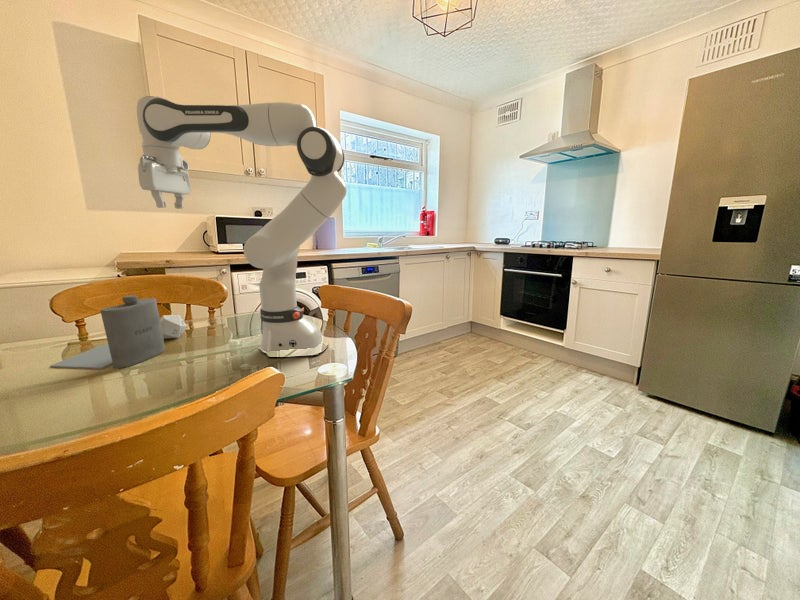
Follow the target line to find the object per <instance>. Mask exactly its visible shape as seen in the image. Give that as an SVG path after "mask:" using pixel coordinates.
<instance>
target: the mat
mask: <svg viewBox="0 0 800 600" xmlns="http://www.w3.org/2000/svg"><path fill="white" fill-rule="evenodd" d="M110 366H113V362H112V358H111V354H110V349H109V345H108V344H100V345H98V346H96V347H93V348H91V349H88V350H86V351H83V352H80V353H79V354H76V355H73V356H71V357H68V358H67V359H64V360H62V361H58V362H57V363H54V364H53V363H52V364H51V365H49V367H50V368H58V369H59V368H61V369H84V370H85V369H87V370H89V369H90V370H104V369H106V368H108V367H110Z"/></svg>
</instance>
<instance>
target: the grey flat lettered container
mask: <svg viewBox="0 0 800 600" xmlns="http://www.w3.org/2000/svg"><path fill="white" fill-rule="evenodd" d="M121 300H122V303H124V304H119V305H114V306H108V307H104V308H103V309H101V310H100V315H101V319H102V323H103V328H104V333H105V337H106V341H107V345H109V349H110V354H111V358H112V362H113V364H112V366H113V368H115V369H125V368H128V367H132V366H135V365H138V364H140V363H143V362H145V361H147V360H150V359H153V358H154V357H157V356H159V355H160V354H162V353H164V352H165V350H166V346H165V345H166V343H165V339H163V334H162V328H161V323H160V318H161V317H160V313H159V309H158V304H157V299H156V298H151V297H150V298H141V299H139V297H138V296H137V295H135V294H131V295H124V296H123V297H122V299H121Z"/></svg>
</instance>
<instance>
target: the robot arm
mask: <svg viewBox="0 0 800 600" xmlns="http://www.w3.org/2000/svg"><path fill="white" fill-rule="evenodd" d="M136 104H137V105H136V118H137V124H138V130H139V133H140V134H141V135H140V136H141V139H142V144H141V147H142V155H141V156H140V158H139V163H138V166H137V171H138V172H137V173H138V182H139V186H140V187H141V189H142V190H143V191H150V193H151V197H152V198H153V200H154V202H155V203H156V204H155V205H156V207H157V209H166V208H167V205H166V204H167V203H166V201H164V199H163V197H162V196H163V193H165V194H166V193H167V194H172V195H173V194H174V195H173V196H174V198H175V202H174V203H173V205H174V208H175V209H177V210H178V209H180V210H181V209H182V210H183V209H184V198H185V196H186V195H188V196H189V195H190V194H191V191H192V189H191V188H192V187H191V180H190V179H191V178H190V174H189V172H188V171H189V170H190V165H189V163H188V162H187V161H186V160H185V159H184V158H183V157H182V155H181V154H180V148H181V147H184V148H187V149H191V150H203V149H204V148H206V147H207V146H208V145H209V143H210V141H211V133H216V134H217V133H218V134H226V135H230V136H234V137H237V138H240V139H241V140H244V141H247V142H250V143H252V144H254V145H259V146H265V147H286V146H287V147H288V146H292V147H293V146H294V147H296V148H297V149H296V150H297V153H298V156H299V158H300V159H301V161H302V163H303V165H304V167H305V169H306V170H307V172H308V174H309V175H310V176H311V177H310V180H309V181H308V182H307V183H306V185H304V187H303V188H302V189H301V190H300V191H299V192H298V194H297V195H296V196H295V197H294V198H293V199H292V200H291V201H290V202H289V204H287V206H286V207H285V208H284V209H282V210H281V211H280V212H279V213H278V214H277V215H275V216H274V217H273V218H272V219H271V220H270V221H268V222H267V223H266V224H265V225H264V226H262V228H260V229H259V230H257V232H255V234H253V235H252V236H250V237H249V238H248V239H247V240H246V241H245V242H244V246H243V255H244V258H245V260H246V261H247V262H248V264H250V265H251V266H252V267H254V268H257V269H262V273H261V279H260V282H259V287H258V289H259V297H260V298H259V299H260V309H259V310H260V311H259V312H260V323H261V325H262V334H261V335H262V336H261V344H260V348H261V349H262V350H264V351H266V352H270V351H280V350H289V349H307V348H315V347H317V346H318V345H319V344H321V342H322V340H323V339H322V338H323V336H322V335H323V334H322V330H321V329H320V326H318V325H316V324H315V323H313V322H312V321H310V320H309V319H307V317H305V316H304V311H305V308H304V307H302V308H301V307H300V306H298V304H297V302H298V301H297V289H296V277H297V267H298V255H299V251H300V246H302V244H303V243H305V242H306V241H307V240H308V239H309V238H311V237H312V236H314V234H315V233H316V232H317V231H318V230H319V229H320V228H321V227H322V226H323V225H324V224H325V222H327V220H329V218H331V216H332V215H333V214H334V213H335V212H336V210H337V209H338V208H339V206H340V204H342V202H343V200H344V199H345V197H346V195H347V185H346V184H345V181H344V180H343V179H342V178H341V177H340V176H339V172H340V171H341V170H342V168H343V167H344V164H345V153H344V150H343V148H342V146H341V144H340V143H339V141H338V140H337V139H336V137H334V136H333V134H331V132H329V131H328V130H327V129H325V128H323V127H321V126H317V125H316V124H317V123H316V119H315V116H314V114H313V112H312V110H311V109H310V108H308V107H307V105H304V104H300V103H293V102H262V103H261V102H260V103H250V104H234V105H233V104H232V105H222V104H221V105H220V104H216V105H215V104H212V105H211V104H206V105H205V104H178V103H175V102H173V101H170V100H168V99H165V97H164V98H163V97H160V96H152V95H147V96H143V97H141V98H139V99H138V101H137V103H136ZM184 195H185V196H184Z"/></svg>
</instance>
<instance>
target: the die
mask: <svg viewBox="0 0 800 600" xmlns="http://www.w3.org/2000/svg"><path fill="white" fill-rule="evenodd" d="M159 318H160V323H161V328H162V334H163V339H164V340H165V339H180V337H181V336H182V334H183V332H185V330H186V328H187V327H188V326H187V323H185V321H184V319H183V318H182V317H181V315H180V314H167V315H166V314H165V315H164V314H163V315H162V316H161V317H159Z"/></svg>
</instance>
